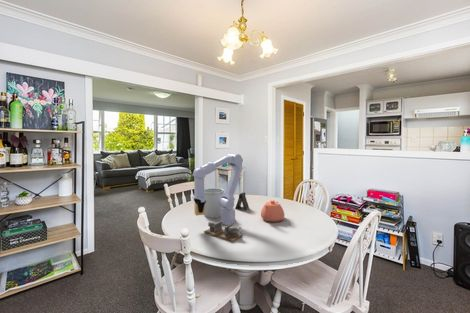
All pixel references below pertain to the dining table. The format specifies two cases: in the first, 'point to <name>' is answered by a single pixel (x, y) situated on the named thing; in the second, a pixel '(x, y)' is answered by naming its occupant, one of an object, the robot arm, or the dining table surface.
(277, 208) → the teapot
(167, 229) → the dining table surface
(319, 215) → the dining table surface
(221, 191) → the utensil holder
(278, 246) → the dining table surface
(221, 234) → the shaft stand
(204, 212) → the coupler block
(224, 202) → the robot arm
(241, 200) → the black a-shaped stand
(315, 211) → the dining table surface
